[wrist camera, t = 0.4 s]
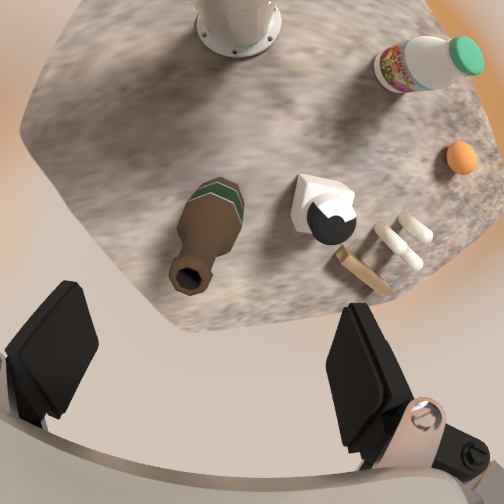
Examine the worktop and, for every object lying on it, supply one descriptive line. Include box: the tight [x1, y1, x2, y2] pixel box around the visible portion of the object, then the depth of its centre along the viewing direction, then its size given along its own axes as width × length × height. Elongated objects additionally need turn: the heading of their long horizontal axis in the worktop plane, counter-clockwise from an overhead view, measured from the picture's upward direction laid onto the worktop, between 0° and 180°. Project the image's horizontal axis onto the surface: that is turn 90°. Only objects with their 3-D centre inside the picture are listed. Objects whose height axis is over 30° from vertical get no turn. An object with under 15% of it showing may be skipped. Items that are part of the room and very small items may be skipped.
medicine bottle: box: [290, 174, 356, 245], centre depth 39 cm, size 7×7×12 cm
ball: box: [447, 141, 477, 175], centre depth 37 cm, size 6×6×6 cm
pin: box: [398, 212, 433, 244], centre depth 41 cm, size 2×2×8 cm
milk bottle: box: [374, 36, 484, 93], centre depth 25 cm, size 8×8×20 cm
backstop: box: [335, 245, 391, 297], centre depth 47 cm, size 2×12×4 cm, turn 54°
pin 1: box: [374, 221, 407, 256], centre depth 42 cm, size 2×2×8 cm
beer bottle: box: [169, 177, 244, 296], centre depth 33 cm, size 8×8×24 cm
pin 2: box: [399, 246, 423, 272], centre depth 43 cm, size 2×2×8 cm
